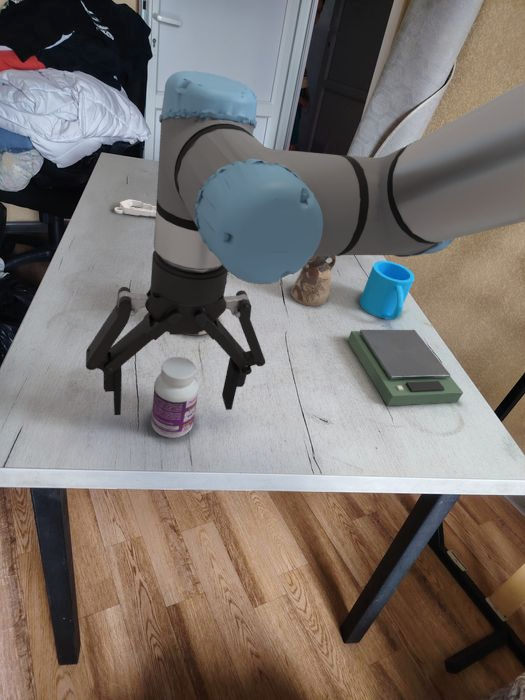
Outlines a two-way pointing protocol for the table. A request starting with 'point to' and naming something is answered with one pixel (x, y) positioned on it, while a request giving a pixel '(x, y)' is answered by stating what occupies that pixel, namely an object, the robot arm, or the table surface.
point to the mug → (386, 289)
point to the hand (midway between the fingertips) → (173, 404)
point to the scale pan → (404, 354)
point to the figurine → (314, 281)
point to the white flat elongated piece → (127, 209)
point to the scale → (403, 381)
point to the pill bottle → (175, 398)
